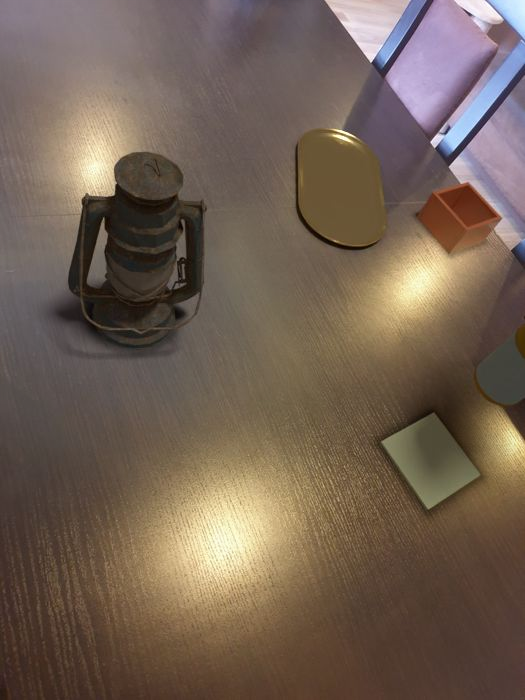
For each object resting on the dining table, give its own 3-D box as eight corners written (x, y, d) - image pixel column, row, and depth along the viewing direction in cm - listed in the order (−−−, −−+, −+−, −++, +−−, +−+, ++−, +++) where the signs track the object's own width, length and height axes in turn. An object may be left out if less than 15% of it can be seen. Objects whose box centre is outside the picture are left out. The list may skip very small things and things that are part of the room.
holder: (451, 205, 125) (468, 181, 119) (483, 241, 121) (502, 218, 115) (416, 216, 120) (432, 192, 114) (448, 254, 116) (467, 230, 110)
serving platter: (296, 240, 107) (299, 234, 106) (295, 125, 126) (297, 119, 125) (388, 258, 111) (391, 253, 110) (373, 144, 130) (376, 138, 129)
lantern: (190, 283, 96) (224, 136, 71) (201, 356, 88) (242, 221, 64) (69, 282, 90) (60, 121, 65) (70, 360, 83) (60, 213, 58)
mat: (432, 413, 94) (434, 412, 93) (478, 476, 89) (481, 474, 89) (379, 442, 88) (381, 441, 88) (426, 511, 84) (428, 509, 84)
